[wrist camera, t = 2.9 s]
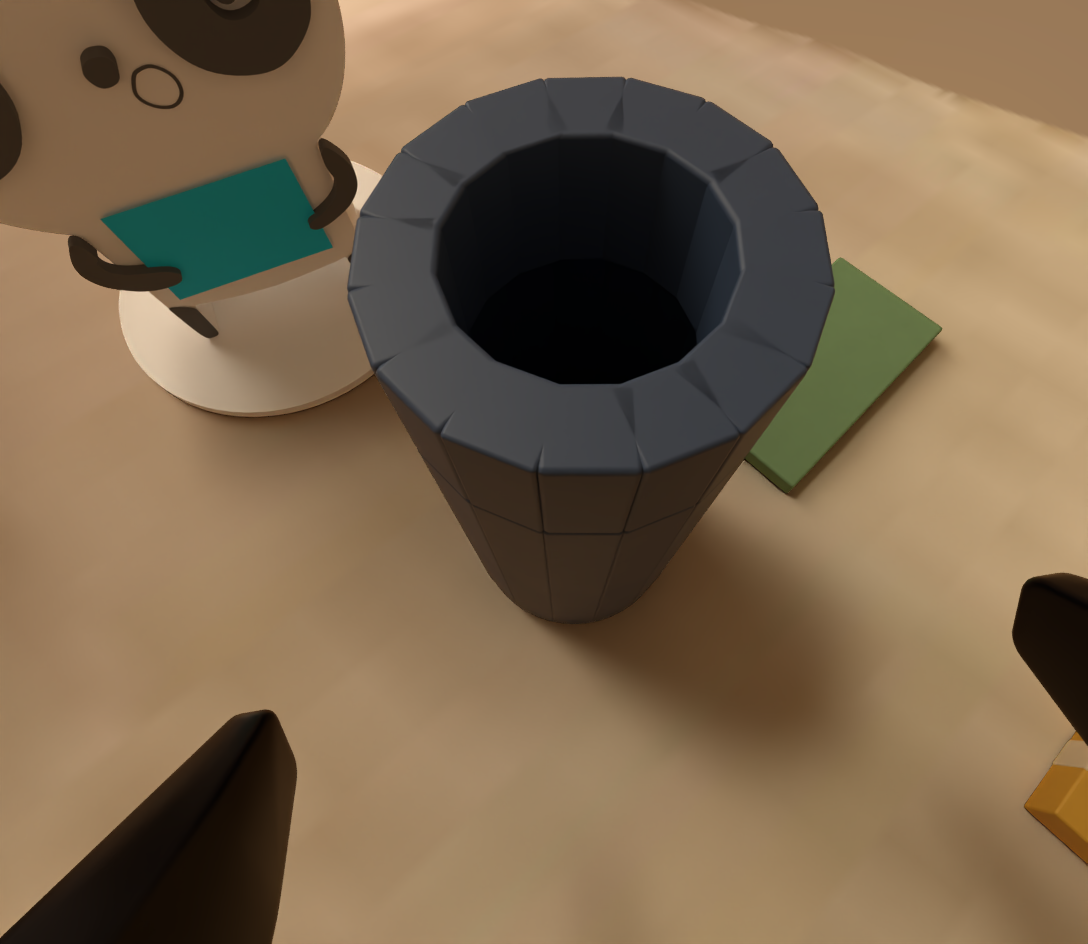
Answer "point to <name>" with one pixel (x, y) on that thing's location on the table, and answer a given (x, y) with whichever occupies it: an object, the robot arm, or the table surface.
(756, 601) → the table surface
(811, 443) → the spatula
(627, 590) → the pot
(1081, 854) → the towel
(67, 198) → the white stand
